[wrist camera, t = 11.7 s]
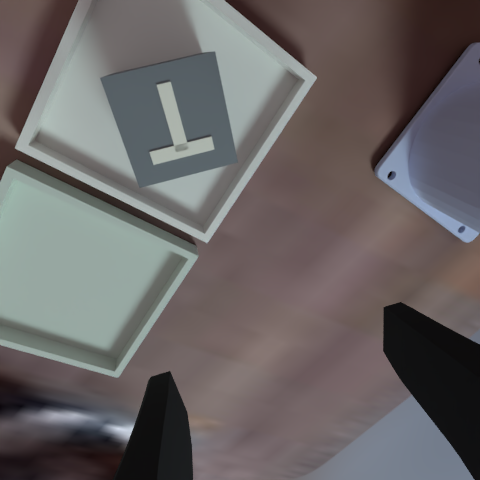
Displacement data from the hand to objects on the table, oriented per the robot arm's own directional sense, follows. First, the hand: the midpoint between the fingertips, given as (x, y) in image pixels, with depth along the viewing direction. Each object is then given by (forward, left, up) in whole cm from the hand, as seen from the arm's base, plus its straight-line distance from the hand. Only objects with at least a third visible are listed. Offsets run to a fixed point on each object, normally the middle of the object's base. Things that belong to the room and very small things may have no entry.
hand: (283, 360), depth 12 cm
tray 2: (+6, +6, -10) cm, 13 cm away
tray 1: (+6, -4, -10) cm, 12 cm away
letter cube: (+6, -4, -10) cm, 12 cm away
